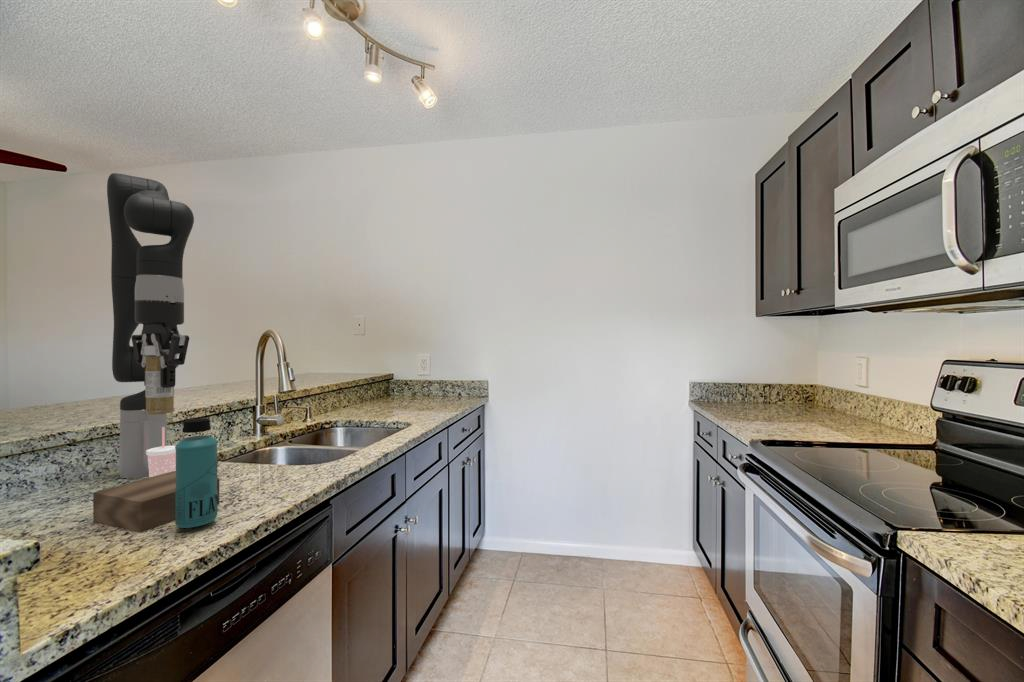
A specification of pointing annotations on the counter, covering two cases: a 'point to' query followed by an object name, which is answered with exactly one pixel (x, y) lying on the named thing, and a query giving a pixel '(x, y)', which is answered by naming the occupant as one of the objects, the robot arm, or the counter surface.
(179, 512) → the beverage bottle
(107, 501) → the walnut block
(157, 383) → the brown spice jar
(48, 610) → the counter surface
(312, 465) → the counter surface
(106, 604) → the counter surface
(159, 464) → the beverage cup
